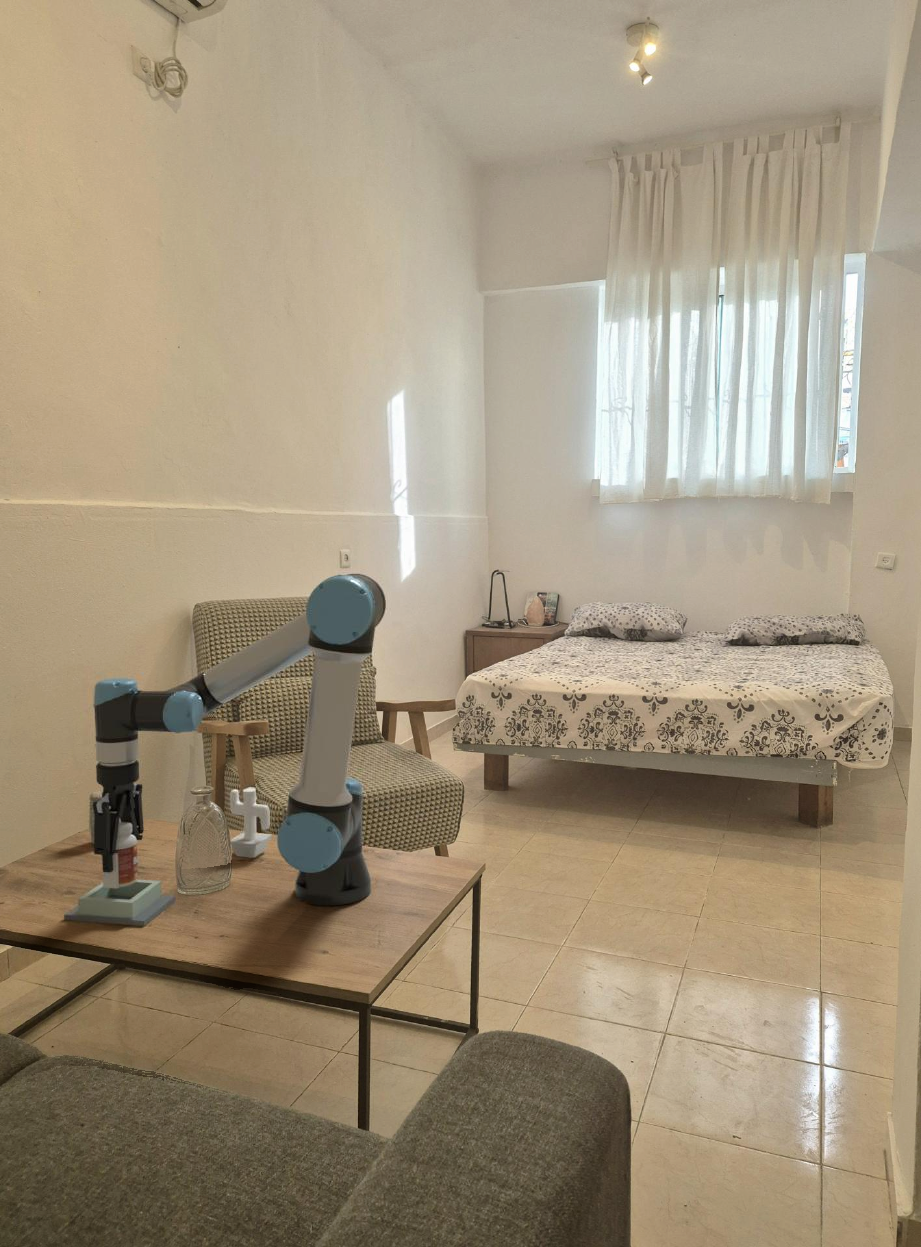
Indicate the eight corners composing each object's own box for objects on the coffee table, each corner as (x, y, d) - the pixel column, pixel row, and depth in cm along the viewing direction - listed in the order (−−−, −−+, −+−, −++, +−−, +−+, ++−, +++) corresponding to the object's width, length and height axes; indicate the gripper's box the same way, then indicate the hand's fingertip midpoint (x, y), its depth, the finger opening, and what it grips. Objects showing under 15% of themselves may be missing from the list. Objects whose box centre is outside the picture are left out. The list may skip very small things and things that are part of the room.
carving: (83, 846, 207) (81, 795, 206) (104, 836, 214) (103, 787, 213) (107, 849, 205) (105, 797, 204) (127, 838, 212) (126, 789, 211)
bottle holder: (175, 900, 176) (175, 881, 175) (144, 926, 164) (143, 905, 164) (100, 895, 178) (99, 875, 178) (64, 919, 167) (63, 899, 166)
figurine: (260, 861, 198) (260, 794, 197) (223, 856, 201) (222, 791, 199) (277, 850, 205) (276, 786, 203) (240, 846, 208) (239, 782, 206)
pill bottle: (141, 884, 170) (140, 827, 169) (107, 891, 166) (105, 832, 165) (133, 874, 175) (132, 818, 174) (100, 880, 172) (98, 824, 171)
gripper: (125, 749, 179) (128, 861, 181) (69, 773, 160) (73, 898, 162) (161, 750, 177) (163, 864, 179) (108, 775, 159) (111, 901, 161)
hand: (120, 880), depth 171 cm, fingers closed on pill bottle, 6 cm apart
